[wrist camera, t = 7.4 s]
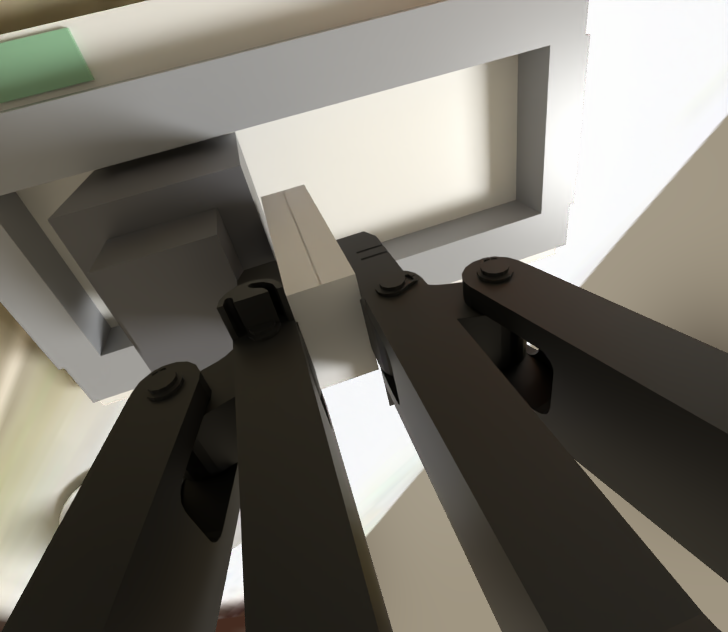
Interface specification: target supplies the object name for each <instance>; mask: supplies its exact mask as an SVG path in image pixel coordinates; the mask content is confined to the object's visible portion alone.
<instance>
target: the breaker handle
mask: <svg viewBox="0 0 728 632" xmlns="http://www.w3.org/2000/svg"><path fill="white" fill-rule="evenodd" d="M48 222H49V223H50V225H51V226H52V227H53V229H54V230H55V232H56V233H57V235H58V236H59V238H60V239H61V241H62V242H63V244H64V245H65V246H66V248H67V249H68V251H69V252H70V254H71V255H72V257H73V258H74V260H75V261H76V262H77V264H78V265H79V267H80V268H81V270H82V271H83V273H84V274H85V276H86V277H87V279H88V280H89V281H90V283H91V284H92V286H93V287H94V289H95V290H96V292H97V293H98V295H99V296H100V298H101V299H102V300H103V302H104V303H105V305H106V306H107V308H108V309H109V311H110V312H111V314H112V315H113V317H114V318H115V319H116V321H117V322H118V324H119V325H120V327H121V328H122V330H123V331H124V333H125V334H126V336H127V337H128V338H129V340H130V341H131V343H132V344H133V346H134V347H135V349H136V350H137V352H138V353H139V355H140V356H141V357H142V359H143V360H144V362H145V363H146V365H147V366H148V368H149V369H150V371H151V372H153V371H154V370H156V369H158V368H160V367H162V366H165V365H168V364H171V363H174V362H185V361H188V362H191V363H193V364H196V365H197V367H198V369H199V370H200V371H201V370H203V369H205V368H207V367H208V366H210V365H212V364H214V363H216V362H217V361H219V360H220V359H222V358H223V357H225V356H226V355H227V354H228V353H229V352H230V351H232V349H233V340H232V338H231V336H230V334H229V332H228V330H227V328H226V326H225V324H224V322H223V320H222V318H221V316H220V314H219V312H218V310H217V305H218V302H219V300H220V299H221V298H222V297H223V296H224V295H225V294H226V293H227V292H228V291H230V290H231V289H233V288H235V287H236V286H237V280H238V279H239V277H240V276H241V274H242V272H243V271H244V270H246V269H249V268H252V267H255V266H259V265H262V264H265V263H268V262H271V261H275V260H276V256H275V252H274V248H273V244H272V240H271V236H270V232H269V228H268V224H267V220H266V217H265V214H264V212H263V209H262V206H261V203H260V200H259V198H258V195H257V192H256V189H255V186H254V184H253V181H252V178H251V175H250V172H249V170H248V167H247V164H246V161H245V158H244V156H243V153H242V150H241V147H240V144H239V142H238V139H237V136H236V133H235V132H232V133H228V134H225V135H221V136H217V137H214V138H210V139H206V140H203V141H199V142H196V143H192V144H188V145H185V146H181V147H177V148H174V149H170V150H166V151H163V152H159V153H155V154H152V155H148V156H144V157H141V158H137V159H133V160H130V161H126V162H122V163H119V164H115V165H111V166H108V167H104V168H100V169H97V170H94V171H93V172H92V173H91V174H90V175H89V176H88V177H87V178H86V180H85V181H84V182H83V183H82V184H81V185H80V186H79V187H78V188H77V189H76V190H75V191H74V192H73V193H72V194H71V195H70V196H69V197H68V199H67V200H66V201H65V202H64V203H63V204H62V205H61V206H60V207H59V208H58V209H57V210H56V211H55V212H54V213H53V214H52V215H51V216H50V217H49V219H48Z"/></svg>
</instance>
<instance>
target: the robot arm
mask: <svg viewBox="0 0 728 632" xmlns="http://www.w3.org/2000/svg"><path fill="white" fill-rule="evenodd" d="M261 201H262V205H263V209H264V213H265V217H266V220H267V224H268V228H269V232H270V236H271V240H272V244H273V248H274V252H275V256H276V260H275V261H271V262H268V263H265V264H262V265H259V266H255V267H252V268H249V269H246V270H244V271H243V272H242V274H241V276H240V277H239V279H238V280H237V286H236V287H235V288H233V289H231V290H230V291H228V292H227V293H226V294H225V295H224V296H223V297H222V298H221V299H220V300H219V302H218V305H217V310H218V312H219V314H220V316H221V318H222V320H223V322H224V324H225V326H226V328H227V330H228V332H229V334H230V336H231V338H232V340H233V349H232V351H230V352H229V353H228V354H227V355H226V356H225V357H223V358H222V359H220V360H219V361H217V362H216V363H214V364H212V365H210V366H208V367H207V368H205V369H203V370H201V371H200V370H199V369H198V367H197V365H196V364H193V363H191V362H188V361H185V362H174V363H171V364H168V365H165V366H162V367H160V368H158V369H156V370H154V371H153V372H151V373H150V374H149V375H147V376H146V377H145V378H144V379H143V380H141V381H140V382H139V383H138V385H137V386H136V387H135V389H134V390H133V391H132V393H131V395H130V397H129V398H128V400H127V402H126V404H125V406H124V408H123V409H122V411H121V413H120V415H119V417H118V419H117V420H116V422H115V424H114V426H113V428H112V430H111V431H110V433H109V435H108V437H107V439H106V441H105V442H104V444H103V446H102V448H101V450H100V452H99V454H98V455H97V457H96V459H95V461H94V463H93V465H92V466H91V468H90V470H89V472H88V474H87V476H86V477H85V479H84V481H83V483H82V485H81V487H80V488H79V490H78V492H77V494H76V496H75V498H74V499H73V501H72V503H71V505H70V507H69V509H68V510H67V512H66V514H65V516H64V518H63V520H62V521H61V523H60V525H59V527H58V529H57V531H56V533H55V534H54V536H53V538H52V540H51V542H50V544H49V545H48V547H47V549H46V551H45V553H44V555H43V556H42V558H41V560H40V562H39V564H38V566H37V567H36V569H35V571H34V573H33V575H32V577H31V578H30V580H29V582H28V584H27V586H26V588H25V589H24V591H23V593H22V595H21V597H20V599H19V600H18V602H17V604H16V606H15V608H14V610H13V611H12V613H11V615H10V617H9V619H8V621H7V623H6V624H5V626H4V628H3V630H2V632H215V630H216V625H217V620H218V615H219V610H220V605H221V600H222V595H223V590H224V585H225V580H226V575H227V570H228V566H229V561H230V556H231V551H232V546H233V541H234V536H235V531H236V526H237V521H238V516H239V511H240V516H241V538H242V561H243V583H244V605H245V626H246V632H393V631H392V627H391V624H390V620H389V617H388V613H387V610H386V607H385V603H384V600H383V596H382V593H381V589H380V586H379V583H378V579H377V576H376V573H375V569H374V566H373V562H372V559H371V555H370V552H369V549H368V545H367V542H366V538H365V535H364V531H363V528H362V525H361V521H360V518H359V514H358V511H357V507H356V504H355V501H354V497H353V494H352V490H351V487H350V484H349V480H348V477H347V473H346V470H345V467H344V463H343V460H342V456H341V453H340V449H339V446H338V443H337V439H336V436H335V432H334V429H333V426H332V422H331V419H330V415H329V412H328V408H327V405H326V402H325V400H324V397H323V394H322V391H321V389H324V388H326V387H329V386H332V385H335V384H338V383H341V382H343V381H346V380H349V379H352V378H355V377H358V376H361V375H363V374H366V373H369V372H372V371H375V370H378V365H377V361H378V363H379V365H380V367H381V371H382V375H383V379H384V383H385V387H386V392H387V396H388V400H389V404H390V406H391V405H395V407H396V409H397V411H398V413H399V415H400V417H401V419H402V421H403V424H404V426H405V428H406V430H407V432H408V434H409V436H410V438H411V440H412V443H413V445H414V447H415V449H416V451H417V453H418V455H419V457H420V460H421V462H422V464H423V466H424V468H425V470H426V472H427V474H428V476H429V479H430V481H431V483H432V485H433V487H434V489H435V491H436V493H437V495H438V498H439V500H440V502H441V504H442V506H443V508H444V510H445V512H446V514H447V517H448V519H449V521H450V523H451V525H452V527H453V529H454V531H455V533H456V536H457V538H458V540H459V542H460V544H461V546H462V548H463V550H464V552H465V555H466V556H467V559H468V561H469V563H470V565H471V567H472V569H473V572H474V574H475V576H476V578H477V580H478V582H479V584H480V586H481V588H482V591H483V592H484V595H485V597H486V599H487V601H488V603H489V605H490V607H491V610H492V612H493V614H494V616H495V618H496V620H497V622H498V624H499V626H500V629H501V631H502V632H721V631H720V630H719V629H718V628H717V627H716V626H715V625H714V624H713V623H712V622H711V621H710V620H709V619H708V618H707V617H706V616H705V615H704V614H703V612H702V611H701V610H700V609H699V608H698V607H697V605H696V604H695V603H694V602H693V601H692V599H691V598H690V597H689V596H688V595H687V593H686V592H685V591H684V590H683V589H682V588H681V586H680V585H679V584H678V583H677V582H676V580H675V579H674V578H673V577H672V575H671V574H670V573H669V572H668V571H667V570H666V568H665V567H664V566H663V565H662V564H661V563H660V561H659V560H658V559H657V558H656V556H655V555H654V554H653V553H652V552H651V550H650V549H649V548H648V547H647V546H646V544H645V543H644V542H643V541H642V540H641V538H640V537H639V536H638V535H637V534H636V533H635V531H634V530H633V529H632V528H631V527H630V525H629V524H628V523H627V522H626V521H625V519H624V518H623V517H622V516H621V515H620V513H619V512H618V511H617V510H616V509H615V507H614V506H613V505H612V504H611V503H610V501H609V500H608V499H607V498H606V497H605V495H604V494H603V493H602V492H601V491H600V489H599V488H598V487H597V486H596V485H595V484H594V482H593V481H592V480H591V479H590V478H589V476H588V475H587V474H586V473H585V472H584V470H583V469H582V468H581V467H580V466H579V465H578V463H577V462H579V463H580V464H581V465H582V466H584V467H585V468H586V469H587V470H589V471H590V472H591V473H592V474H594V475H595V476H596V477H597V478H599V479H600V480H601V481H602V482H603V483H605V484H606V485H607V486H608V487H610V488H611V489H612V490H613V491H615V492H616V493H617V494H619V495H620V496H621V497H622V498H623V499H625V500H626V501H627V502H629V503H630V504H631V505H632V506H633V507H635V508H636V509H637V510H638V511H640V512H641V513H642V514H643V515H645V516H646V517H647V518H648V519H650V520H651V521H652V522H653V523H655V524H656V525H657V526H658V527H659V528H661V529H662V530H663V531H665V532H666V533H667V534H668V535H670V536H671V537H672V538H673V539H674V540H676V541H677V542H678V543H679V544H681V545H682V546H683V547H684V548H686V549H687V550H688V551H689V552H691V553H692V554H693V555H694V556H696V557H697V558H698V559H699V560H701V561H702V562H703V563H704V564H706V565H707V566H708V567H709V568H711V569H712V570H713V571H714V572H716V573H717V574H718V575H719V576H720V577H722V578H723V579H724V580H726V581H727V582H728V353H726V352H723V351H721V350H719V349H717V348H715V347H712V346H710V345H708V344H706V343H703V342H701V341H699V340H697V339H694V338H692V337H690V336H688V335H685V334H683V333H681V332H679V331H676V330H674V329H672V328H670V327H668V326H665V325H663V324H661V323H658V322H656V321H654V320H652V319H650V318H647V317H645V316H643V315H640V314H638V313H636V312H634V311H631V310H629V309H627V308H625V307H623V306H620V305H618V304H616V303H613V302H611V301H609V300H607V299H604V298H602V297H600V296H598V295H596V294H593V293H591V292H589V291H587V290H584V289H582V288H580V287H578V286H575V285H573V284H571V283H569V282H566V281H564V280H562V279H560V278H557V277H555V276H553V275H551V274H548V273H546V272H544V271H542V270H539V269H537V268H535V267H533V266H530V265H528V264H526V263H524V262H521V261H519V260H516V259H512V258H509V257H498V256H493V257H486V258H482V259H480V260H477V261H474V262H472V263H471V264H469V265H468V266H466V267H465V269H464V271H463V272H462V282H458V283H450V284H441V285H429V284H427V283H426V282H425V281H424V279H423V278H422V277H421V276H419V275H418V274H416V273H414V272H410V271H403V270H402V268H401V267H400V266H399V265H398V263H397V262H396V261H395V259H394V258H393V257H392V256H391V254H390V253H389V252H388V251H387V249H386V248H385V247H384V245H382V243H381V242H380V240H379V239H378V238H377V237H376V236H375V235H372V234H370V233H367V232H364V231H363V232H360V233H357V234H353V235H350V236H347V237H344V238H341V239H337V240H336V239H335V237H334V236H333V234H332V232H331V231H330V229H329V227H328V225H327V224H326V222H325V220H324V218H323V217H322V215H321V213H320V211H319V210H318V208H317V206H316V204H315V203H314V201H313V199H312V197H311V196H310V194H309V192H308V190H307V189H306V187H305V185H304V184H303V185H300V186H297V187H293V188H290V189H286V190H283V191H280V192H276V193H273V194H269V195H266V196H263V197H261ZM527 342H529V343H531V344H532V345H534V346H536V347H537V348H539V350H536V349H534V348H532V347H530V346H529V345H527ZM376 359H377V361H376ZM574 459H575V460H576V461H577V462H576V461H575V460H574Z"/></svg>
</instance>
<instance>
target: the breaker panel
mask: <svg viewBox="0 0 728 632" xmlns="http://www.w3.org/2000/svg"><path fill="white" fill-rule="evenodd" d="M588 2H589V0H148V1H143V2H139V3H135V4H130V5H126V6H122V7H118V8H113V9H109V10H105V11H100V12H96V13H92V14H87V15H83V16H79V17H74V18H70V19H66V20H62V21H57V22H53V23H49V24H44V25H40V26H36V27H31V28H27V29H23V30H18V31H14V32H10V33H6V34H1V35H0V302H1V303H2V304H3V306H4V307H5V308H6V309H7V310H8V311H9V313H10V314H11V315H12V316H13V317H14V318H15V320H16V321H17V322H18V323H19V324H20V325H21V326H22V328H23V329H24V330H25V331H26V332H27V333H28V335H29V336H30V337H31V338H32V339H33V340H34V342H35V343H36V344H37V345H38V346H39V347H40V349H41V350H42V351H43V352H44V353H45V354H46V356H47V357H48V358H49V359H50V360H51V361H52V363H53V364H54V365H55V366H56V367H57V368H58V369H62V368H64V369H65V370H66V371H67V372H68V373H69V374H70V376H71V377H72V378H73V379H74V380H75V382H76V383H77V384H78V385H79V386H80V387H81V389H82V390H83V391H84V392H85V393H86V395H87V396H88V397H89V398H90V399H91V400H92V402H93V403H94V402H97V401H100V402H101V404H102V405H103V406H105V405H108V404H111V403H114V402H117V401H120V400H123V399H126V398H129V397H130V395H131V393H132V391H133V390H134V389H135V387H136V386H137V385H138V383H139V382H140V381H141V380H143V379H144V378H145V377H146V376H147V375H149V374H150V373H151V371H150V369H149V368H148V366H147V365H146V363H145V362H144V360H143V359H142V357H141V356H140V355H139V353H138V352H137V350H136V349H135V347H134V346H133V344H132V343H131V341H130V340H129V338H128V337H127V336H126V334H125V333H124V331H123V330H122V328H121V327H120V325H119V324H118V322H117V321H116V319H115V318H114V317H113V315H112V314H111V312H110V311H109V309H108V308H107V306H106V305H105V303H104V302H103V300H102V299H101V298H100V296H99V295H98V293H97V292H96V290H95V289H94V287H93V286H92V284H91V283H90V281H89V280H88V279H87V277H86V276H85V274H84V273H83V271H82V270H81V268H80V267H79V265H78V264H77V262H76V261H75V260H74V258H73V257H72V255H71V254H70V252H69V251H68V249H67V248H66V246H65V245H64V244H63V242H62V241H61V239H60V238H59V236H58V235H57V233H56V232H55V230H54V229H53V227H52V226H51V225H50V223H49V222H48V219H49V217H50V216H51V215H52V214H53V213H54V212H55V211H56V210H57V209H58V208H59V207H60V206H61V205H62V204H63V203H64V202H65V201H66V200H67V199H68V197H69V196H70V195H71V194H72V193H73V192H74V191H75V190H76V189H77V188H78V187H79V186H80V185H81V184H82V183H83V182H84V181H85V180H86V178H87V177H88V176H89V175H90V174H91V173H92V172H93V171H94V170H97V169H100V168H104V167H108V166H111V165H115V164H119V163H122V162H126V161H130V160H133V159H137V158H141V157H144V156H148V155H152V154H155V153H159V152H163V151H166V150H170V149H174V148H177V147H181V146H185V145H188V144H192V143H196V142H199V141H203V140H206V139H210V138H214V137H217V136H221V135H225V134H228V133H232V132H235V133H236V136H237V139H238V142H239V144H240V147H241V150H242V153H243V156H244V158H245V161H246V164H247V167H248V170H249V172H250V175H251V178H252V181H253V184H254V186H255V189H256V192H257V195H258V198H259V200H260V203H261V206H262V209H263V205H262V201H261V197H263V196H266V195H269V194H273V193H276V192H280V191H283V190H286V189H290V188H293V187H297V186H300V185H303V184H304V185H305V187H306V189H307V190H308V192H309V194H310V196H311V197H312V199H313V201H314V203H315V204H316V206H317V208H318V210H319V211H320V213H321V215H322V217H323V218H324V220H325V222H326V224H327V225H328V227H329V229H330V231H331V232H332V234H333V236H334V237H335V239H336V240H337V239H341V238H344V237H347V236H350V235H353V234H357V233H360V232H363V231H364V232H367V233H370V234H372V235H375V236H376V237H377V238H378V239H379V240H380V242H381V243H382V245H384V247H385V248H386V249H387V251H388V252H389V253H390V254H391V256H392V257H393V258H394V259H395V261H396V262H397V263H398V265H399V266H400V267H401V268H402V270H403V271H410V272H414V273H416V274H418V275H419V276H421V277H422V278H423V279H424V281H425V282H426V283H427V284H429V285H441V284H450V283H458V282H462V272H463V271H464V269H465V267H466V266H468V265H469V264H471V263H472V262H474V261H477V260H480V259H482V258H486V257H493V256H498V257H509V258H512V259H516V260H519V261H521V262H524V263H526V264H527V263H530V262H533V261H536V260H539V259H542V258H545V257H548V256H551V255H554V254H555V249H556V248H557V247H560V246H563V245H566V237H567V227H568V216H569V205H570V204H573V203H574V194H575V184H576V174H577V163H578V153H579V143H580V133H581V123H582V113H583V103H584V93H585V83H586V73H587V63H588V53H589V42H590V34H586V24H587V13H588ZM263 212H264V209H263ZM264 214H265V213H264Z"/></svg>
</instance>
